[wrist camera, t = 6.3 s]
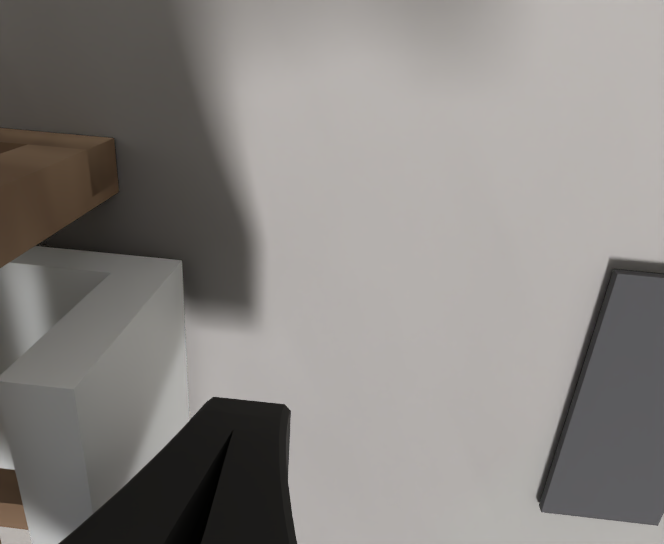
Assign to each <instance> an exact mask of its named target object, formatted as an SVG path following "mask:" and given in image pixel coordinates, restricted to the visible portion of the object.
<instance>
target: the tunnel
mask: <svg viewBox="0 0 664 544" xmlns="http://www.w3.org/2000/svg"><path fill="white" fill-rule="evenodd" d="M118 192H119V185H118V174H117V164H116V153H115V143H114V138H107V137H96V136H85V135H74V134H62V133H51V132H40V131H29V130H18V129H6V128H0V268H2V267H3V266H5V265H6V264H8V263H9V262H11V261H12V260H14V259H16V258H17V257H19V256H20V255H22V254H23V253H25V252H26V251H28V250H29V249H31V248H33V247H34V246H36V245H37V244H39V243H40V242H42V241H43V240H45V239H47V238H48V237H50V236H51V235H53V234H54V233H56V232H57V231H59V230H61V229H62V228H64V227H65V226H67V225H68V224H70V223H71V222H73V221H75V220H76V219H78V218H79V217H81V216H82V215H84V214H85V213H87V212H89V211H90V210H92V209H93V208H95V207H96V206H98V205H99V204H101V203H103V202H104V201H106V200H107V199H109V198H110V197H112V196H113V195H115V194H117V193H118ZM0 526H2V527H10V528H18V529H26V530H29V529H28V525H27V521H26V516H25V512H24V507H23V503H22V499H21V494H20V490H19V485H18V481H17V477H16V472H15V470H12V469H4V468H0ZM0 544H1V540H0Z"/></svg>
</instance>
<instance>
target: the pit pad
mask: <svg viewBox="0 0 664 544" xmlns="http://www.w3.org/2000/svg"><path fill="white" fill-rule="evenodd" d="M539 507H540V510H541V512H545V513H554V514H562V515H571V516H580V517H588V518H597V519H606V520H614V521H623V522H631V523H640V524H649V525H657V526H658V524H659V522H660V520H661V517H662V515H663V513H664V274H658V273H647V272H637V271H627V270H616V269H613V272H612V276H611V279H610V282H609V285H608V288H607V291H606V295H605V298H604V301H603V304H602V307H601V310H600V314H599V317H598V320H597V323H596V326H595V329H594V333H593V336H592V339H591V342H590V345H589V348H588V352H587V355H586V358H585V361H584V364H583V367H582V371H581V374H580V377H579V380H578V383H577V386H576V390H575V393H574V396H573V399H572V402H571V405H570V409H569V412H568V415H567V418H566V421H565V424H564V428H563V431H562V434H561V437H560V440H559V443H558V446H557V450H556V453H555V456H554V459H553V462H552V465H551V469H550V472H549V475H548V478H547V481H546V484H545V488H544V491H543V494H542V497H541V500H540V503H539Z"/></svg>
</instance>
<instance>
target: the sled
mask: <svg viewBox="0 0 664 544" xmlns="http://www.w3.org/2000/svg"><path fill="white" fill-rule="evenodd" d="M189 421H190V417H189V396H188V375H187V354H186V334H185V313H184V292H183V272H182V260H173V259H163V258H153V257H143V256H132V255H122V254H112V253H102V252H92V251H82V250H72V249H62V248H52V247H41V246H34V247H33V248H31V249H29V250H28V251H26V252H25V253H23V254H22V255H20V256H19V257H17V258H16V259H14V260H12V261H11V262H9V263H8V264H6V265H5V266H3V267H2V268H0V468H4V469H12V470H15V472H16V477H17V481H18V485H19V490H20V494H21V499H22V503H23V507H24V512H25V516H26V521H27V525H28V529H29V534H30V538H31V542H32V544H59V543H60V542H61V541H62V540H63V539H65V538H66V537H67V536H68V535H69V534H71V533H72V532H73V531H74V530H75V529H76V528H78V527H79V526H80V525H81V524H82V523H83V522H84V521H85V520H87V519H88V518H89V517H90V516H91V515H92V514H93V513H95V512H96V511H97V510H98V509H99V508H100V507H101V506H102V505H104V504H105V503H106V502H107V501H108V500H109V499H110V498H112V497H113V496H114V495H115V494H116V493H117V492H118V491H119V490H120V489H121V488H123V487H124V486H125V485H126V484H127V483H128V482H129V481H130V480H131V479H132V478H133V477H134V476H135V475H136V474H137V473H138V472H139V471H140V470H141V469H142V468H143V467H144V466H145V465H146V464H147V463H148V462H149V461H151V460H152V459H153V458H154V457H155V456H156V455H157V454H158V453H159V452H160V451H161V450H162V449H163V448H164V447H165V446H166V445H167V444H168V443H169V442H170V440H171V439H172V438H173V437H174V436H175V435H176V434H177V433H178V432H179V431H180V430H181V429H182V428H183V427H184V426H185V425H186V424H187V423H188V422H189Z"/></svg>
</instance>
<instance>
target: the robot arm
mask: <svg viewBox="0 0 664 544" xmlns="http://www.w3.org/2000/svg"><path fill="white" fill-rule="evenodd" d="M290 416H291V411H290V410H289V409H288V408H287V406H286V405H285V404H276V403H266V402H257V401H247V400H238V399H229V398H219V397H213V398H211V399H210V400H209V401H207V402H206V403H205V404H204V406H203V407H202V408H201V409H200V410H199V411H198V412H197V413H196V414H195V415H194V416H193V417H192V418H191V420H190V421H189V422H188V423H187V424H186V425H185V426H184V427H183V428H182V429H181V430H180V431H179V432H178V433H177V434H176V435H175V436H174V437H173V438H172V439H171V440H170V442H169V443H168V444H167V445H166V446H165V447H164V448H163V449H162V450H161V451H160V452H159V453H158V454H157V455H156V456H155V457H154V458H153V459H152V460H151V461H149V462H148V463H147V464H146V465H145V466H144V467H143V468H142V469H141V470H140V471H139V472H138V473H137V474H136V475H135V476H134V477H133V478H132V479H131V480H130V481H129V482H128V483H127V484H126V485H125V486H124V487H123V488H121V489H120V490H119V491H118V492H117V493H116V494H115V495H114V496H113V497H112V498H110V499H109V500H108V501H107V502H106V503H105V504H104V505H102V506H101V507H100V508H99V509H98V510H97V511H96V512H95V513H93V514H92V515H91V516H90V517H89V518H88V519H87V520H85V521H84V522H83V523H82V524H81V525H80V526H79V527H78V528H76V529H75V530H74V531H73V532H72V533H71V534H69V535H68V536H67V537H66V538H65V539H63V540H62V541H61V542H60V543H59V544H297V541H296V536H295V530H294V524H293V518H292V511H291V503H290V495H289V487H288V463H289V439H290Z"/></svg>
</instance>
